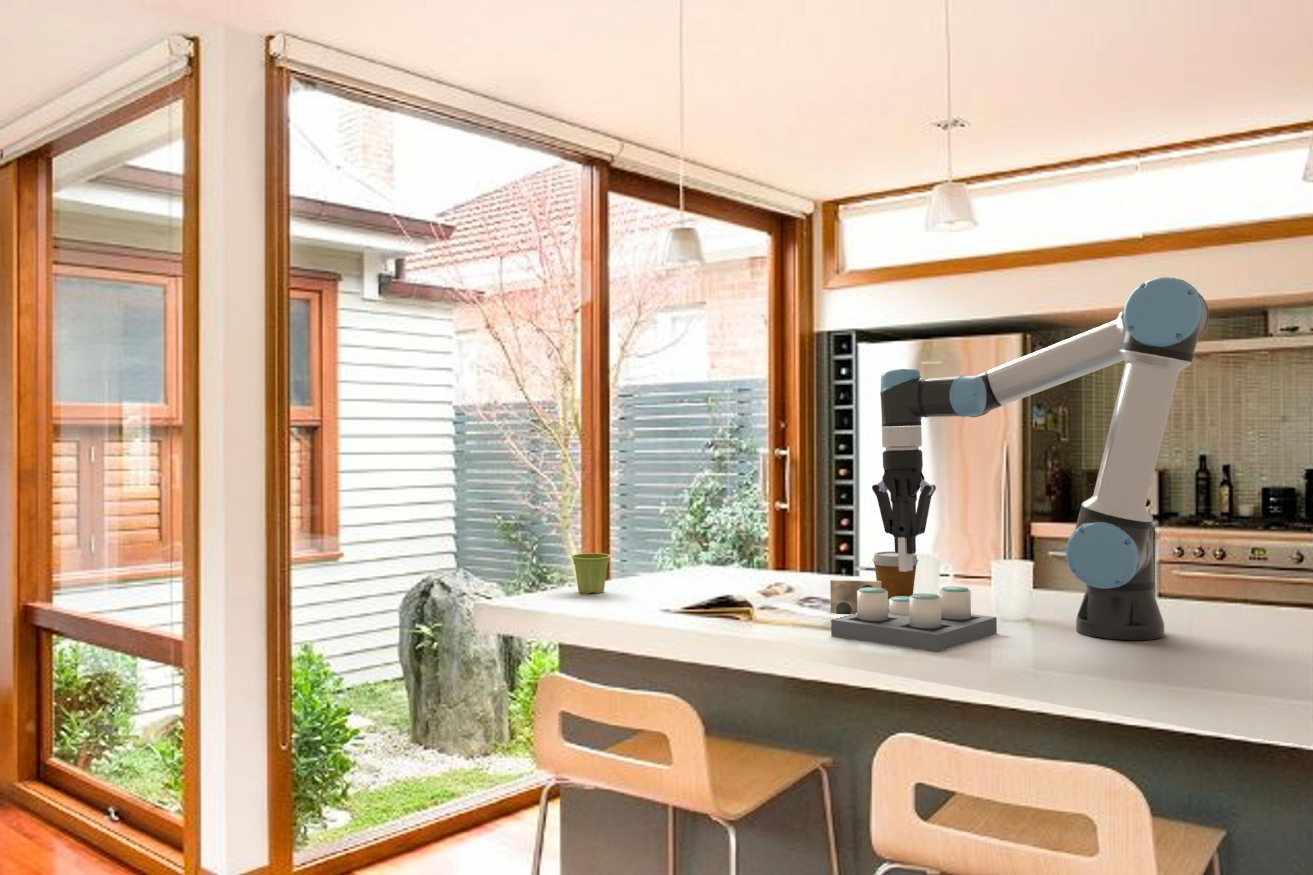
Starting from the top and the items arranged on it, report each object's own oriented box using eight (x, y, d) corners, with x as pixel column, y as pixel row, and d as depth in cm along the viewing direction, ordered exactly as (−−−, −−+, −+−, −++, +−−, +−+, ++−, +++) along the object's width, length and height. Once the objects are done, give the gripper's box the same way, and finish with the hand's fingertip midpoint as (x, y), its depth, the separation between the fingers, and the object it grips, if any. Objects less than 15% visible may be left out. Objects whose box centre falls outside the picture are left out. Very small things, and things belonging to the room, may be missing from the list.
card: (881, 620, 216) (881, 581, 216) (881, 622, 215) (881, 581, 215) (831, 619, 218) (830, 579, 218) (830, 620, 217) (830, 580, 217)
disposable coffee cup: (919, 615, 222) (919, 556, 222) (872, 614, 224) (872, 556, 224) (918, 607, 231) (917, 551, 231) (872, 606, 233) (872, 550, 233)
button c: (947, 624, 194) (947, 595, 194) (931, 629, 190) (931, 599, 190) (919, 621, 198) (919, 592, 198) (903, 625, 194) (903, 595, 194)
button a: (976, 616, 202) (976, 587, 202) (961, 620, 198) (961, 591, 198) (949, 613, 206) (948, 585, 206) (934, 617, 202) (934, 588, 202)
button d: (893, 617, 202) (893, 589, 202) (877, 621, 198) (877, 592, 198) (867, 614, 206) (867, 586, 206) (851, 618, 202) (851, 589, 202)
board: (996, 633, 203) (996, 617, 202) (937, 652, 187) (937, 634, 187) (893, 619, 218) (893, 604, 218) (831, 635, 202) (831, 619, 202)
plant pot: (618, 590, 259) (618, 554, 259) (596, 596, 251) (595, 558, 251) (587, 587, 264) (586, 552, 264) (563, 593, 256) (563, 556, 256)
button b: (923, 625, 210) (923, 597, 210) (908, 629, 206) (908, 601, 206) (898, 621, 214) (898, 594, 214) (883, 625, 210) (883, 598, 210)
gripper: (942, 447, 208) (946, 570, 208) (883, 448, 217) (887, 566, 217) (922, 449, 202) (926, 575, 202) (862, 449, 211) (866, 570, 211)
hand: (905, 570), depth 209 cm, fingers closed
